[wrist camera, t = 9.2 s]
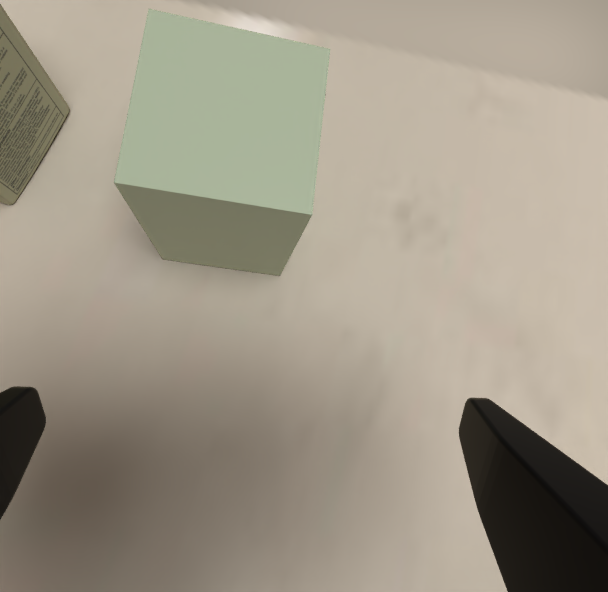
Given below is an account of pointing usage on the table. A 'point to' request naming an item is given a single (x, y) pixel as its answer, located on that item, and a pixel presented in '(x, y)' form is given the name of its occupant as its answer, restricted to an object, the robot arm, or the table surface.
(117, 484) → the table surface
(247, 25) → the table surface
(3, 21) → the skincare box
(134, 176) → the mint green pillar
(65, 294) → the table surface
